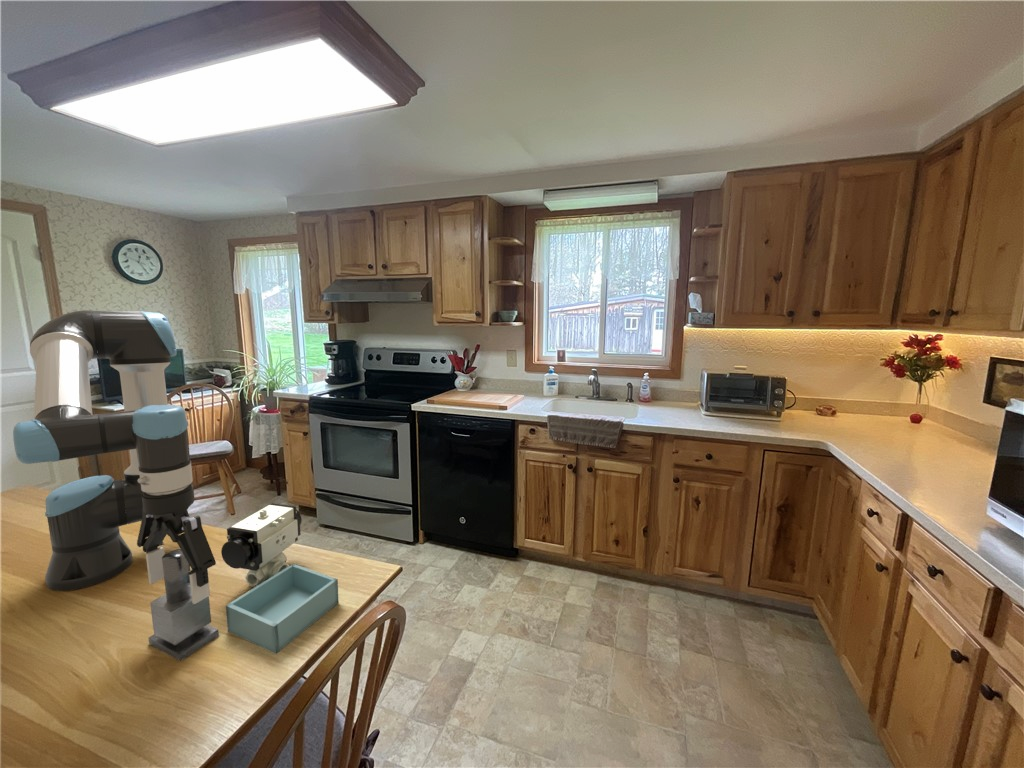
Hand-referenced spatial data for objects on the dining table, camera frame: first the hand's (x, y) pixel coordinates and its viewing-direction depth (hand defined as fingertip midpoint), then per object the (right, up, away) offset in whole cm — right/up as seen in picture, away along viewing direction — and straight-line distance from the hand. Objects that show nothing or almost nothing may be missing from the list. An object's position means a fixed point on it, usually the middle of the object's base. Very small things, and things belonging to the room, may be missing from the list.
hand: (179, 589), depth 81 cm
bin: (+16, -10, +9) cm, 21 cm away
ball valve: (+5, -8, +22) cm, 24 cm away
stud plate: (0, -11, +2) cm, 11 cm away
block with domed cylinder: (0, -8, +1) cm, 9 cm away
